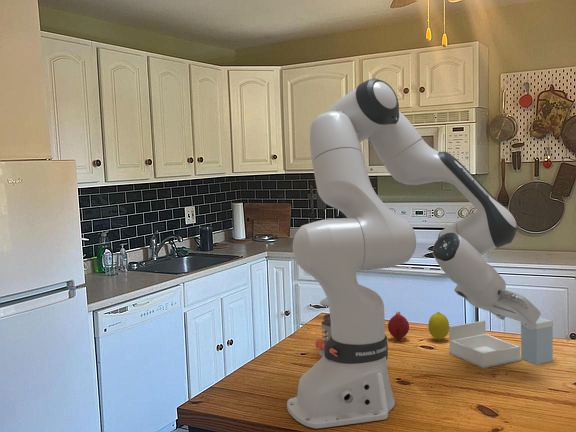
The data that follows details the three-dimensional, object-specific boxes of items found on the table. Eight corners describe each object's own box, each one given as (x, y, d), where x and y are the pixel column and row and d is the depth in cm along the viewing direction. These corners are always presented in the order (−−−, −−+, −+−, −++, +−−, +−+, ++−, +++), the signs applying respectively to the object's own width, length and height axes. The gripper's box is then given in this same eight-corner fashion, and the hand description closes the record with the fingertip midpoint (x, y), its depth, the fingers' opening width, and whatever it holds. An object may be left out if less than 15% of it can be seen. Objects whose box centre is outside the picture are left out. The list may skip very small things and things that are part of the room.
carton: (536, 364, 141) (536, 323, 140) (520, 358, 146) (520, 318, 145) (553, 361, 143) (552, 320, 142) (536, 355, 148) (536, 315, 147)
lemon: (452, 338, 163) (451, 310, 162) (445, 344, 159) (445, 315, 158) (432, 336, 166) (431, 308, 165) (425, 342, 161) (425, 313, 161)
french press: (353, 345, 161) (350, 255, 159) (359, 360, 150) (356, 262, 147) (317, 347, 161) (313, 257, 158) (321, 362, 149) (317, 264, 147)
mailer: (483, 368, 140) (482, 339, 139) (449, 353, 152) (449, 326, 151) (520, 360, 144) (519, 332, 143) (484, 346, 156) (484, 320, 155)
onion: (411, 342, 162) (410, 313, 161) (390, 343, 162) (389, 314, 161) (407, 336, 167) (406, 308, 167) (386, 337, 167) (386, 309, 167)
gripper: (526, 285, 129) (559, 322, 134) (463, 269, 148) (494, 302, 152) (510, 308, 128) (544, 344, 132) (449, 289, 146) (481, 321, 151)
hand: (517, 321), depth 143 cm, fingers open, 8 cm apart
